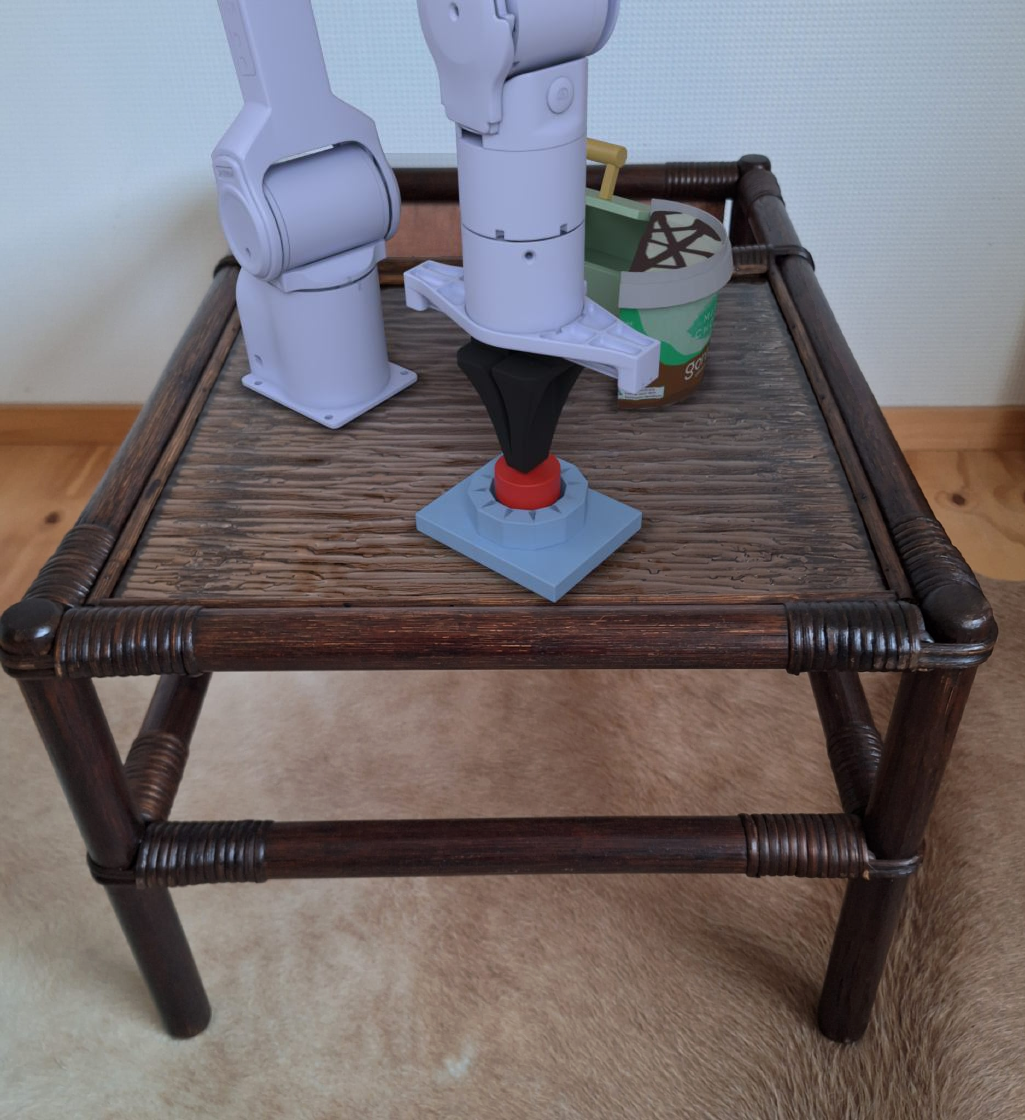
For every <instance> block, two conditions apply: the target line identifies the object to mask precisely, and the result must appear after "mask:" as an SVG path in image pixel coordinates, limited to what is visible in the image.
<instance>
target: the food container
mask: <svg viewBox="0 0 1025 1120" xmlns="http://www.w3.org/2000/svg"><path fill="white" fill-rule="evenodd" d="M650 206H651V215H650V221H649V224H648V226H647V228H646V230H645V232H644V234H643V236H642V237H641V239H640V241H639V244H638V248H637V251H636V254H635V256H634V259H633V262H632V265H631V267H630V270H629V272H624V271H622V272H621V283H620V292H619V305H618V308H620V320H621V321H623V322H624V323H625V324H627V325H628V326H630V327H631V328H633V329H635V330H636V331H638V332H640V333H642V334H644V335H646V336H648V337H651V338H653V339H656V340H659V341H660V342H661V346H660V360H659V374H658V378H656V379H655V380H654V381H652V382H651V383H650V384H649V385H648V386H646V387H645V388H644V389H641V390H640V391H639V392H637V393H636V394H631V393H629V392H626V391H624V390H621V389H619V388H618V387H617V409H623V410H624V409H625V410H646V409H657V408H661V407H665V406H670V405H674V404H677V403H680V402H682V401H683V400H685V399H687V398H689V397H690V396H693V395H694V394H695V393H696V392H697V390H698V389H699V388H700V387H701V385H702V383H703V379H704V376H705V375H704V374H705V369H706V365H707V359H708V353H709V348H710V342H711V336H712V332H713V326H714V320H715V315H716V310H717V305H718V301H719V300H718V299H719V294H720V290H721V289H722V288H723V287H724V286H726V285H727V284H728V282H729V281H730V280H731V278H732V275H733V274H734V259H733V250H732V243H731V240H730V237H729V236H728V232H727V229H726V227H725V226H724V224H723V223H722V222H721V221H720V220H719V219H718V218H717V217H715V216H714V215H712V214H711V213H709V212H707V211H705V210H703V209H700V208H699V207H696V206H692V205H690V204H686V203H682V202H679V201H674V200H667V199H662V198H661V199H660V198H651V203H650Z"/></svg>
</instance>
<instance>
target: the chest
mask: <svg viewBox="0 0 1025 1120" xmlns="http://www.w3.org/2000/svg"><path fill="white" fill-rule="evenodd" d="M648 224H649V222H648V221H642V220H636V219H632V218H629V217H626V216H622V215H619V214H615V213H612V212H608V211H605V210H601V209H598V208H595V207H591V206H588V205H585V249H584V280H586V281H587V294H586V295H585V296H587V297H588V298H590V299H591V300H593V301H594V302H595V303H597V304H598V305H600V306H601V307H603V308H604V309H605V310H607V311H608V312H610V313H611V314H613V315H614V316H615V317H617V318H618V319H620V308H618V305H619V292H620V283H621V272H622V271H624V272H629V270H630V267H631V265H632V262H633V259H634V256H635V254H636V251H637V248H638V244H639V241H640V239H641V237H642V236H643V234H644V232H645V230H646V228H647V226H648Z"/></svg>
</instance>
